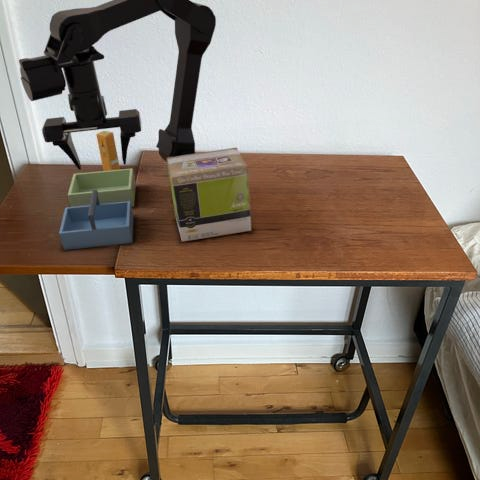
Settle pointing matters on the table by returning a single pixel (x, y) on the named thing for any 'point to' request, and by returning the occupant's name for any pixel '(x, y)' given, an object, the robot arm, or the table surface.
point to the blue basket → (97, 224)
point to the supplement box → (108, 151)
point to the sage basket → (102, 187)
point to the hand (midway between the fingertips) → (102, 166)
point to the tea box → (210, 193)
